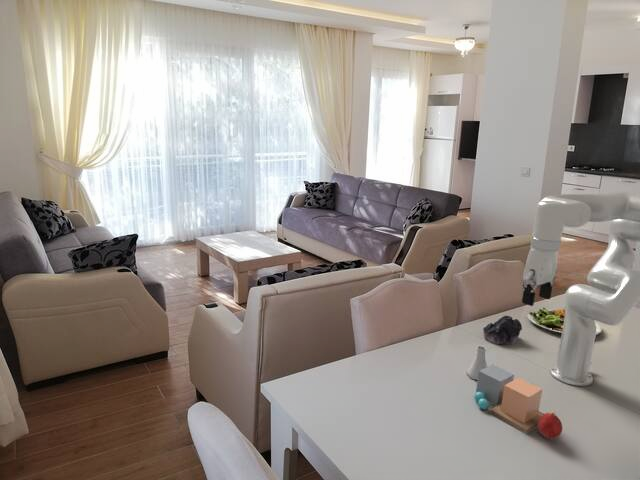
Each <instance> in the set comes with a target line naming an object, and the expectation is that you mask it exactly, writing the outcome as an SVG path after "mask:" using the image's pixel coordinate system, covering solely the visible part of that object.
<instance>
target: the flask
mask: <svg viewBox="0 0 640 480" xmlns="http://www.w3.org/2000/svg"><path fill="white" fill-rule="evenodd" d="M486 352H487V347H486V346H484V345H477V346H476V353H475V357H474V359H473V360H472V363H471V364H470V366H469V368H468V370H467V371H466V375H467V376H468V377H469V379H472V380H476V381H478V374H479V371H480V370H482V369H484V368H486V367H488V366H487V365H488V364H487V361H486Z"/></svg>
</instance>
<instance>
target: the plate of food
mask: <svg viewBox="0 0 640 480" xmlns="http://www.w3.org/2000/svg"><path fill="white" fill-rule="evenodd" d="M526 315H527V316H526V317H527V319H528V320H529V321H530V322H532V323H533V324H535V325H537V326H539V327H541V328H542V329H543V328H544V329H546V330H549V331H553V332H557V333H561V334H562V330H563V324H564V318H565V308H563V309H552V308H546V307H543V308H539V309H535V310H531V311H529V312H527V314H526ZM595 324H596V335H598V334H600V333H601V332H602V330H603V329H602V326H601V325H600V324H599V322H598V321H595ZM550 328H552V329H553V330H552V329H550Z"/></svg>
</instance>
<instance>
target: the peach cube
mask: <svg viewBox="0 0 640 480" xmlns="http://www.w3.org/2000/svg"><path fill="white" fill-rule="evenodd" d="M542 394H543V388H542V387H540V386H536V385H535V384H533V383H529V382H528V381H526V380H524V379H522V378H519V377H517V378H515V379H513V381H511V382H510V383H508V384H506V385H504V391H503V398H502V404H501V411H502V412H504V413H506V414H508V415H510V416H512V417H513V418H515V419H517V420H519V421H521V422H523V423H526V422H527V421H529V420H530V419H532V418H533V417H535V416H536V415H538V411H540V405H541V399H542Z"/></svg>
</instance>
